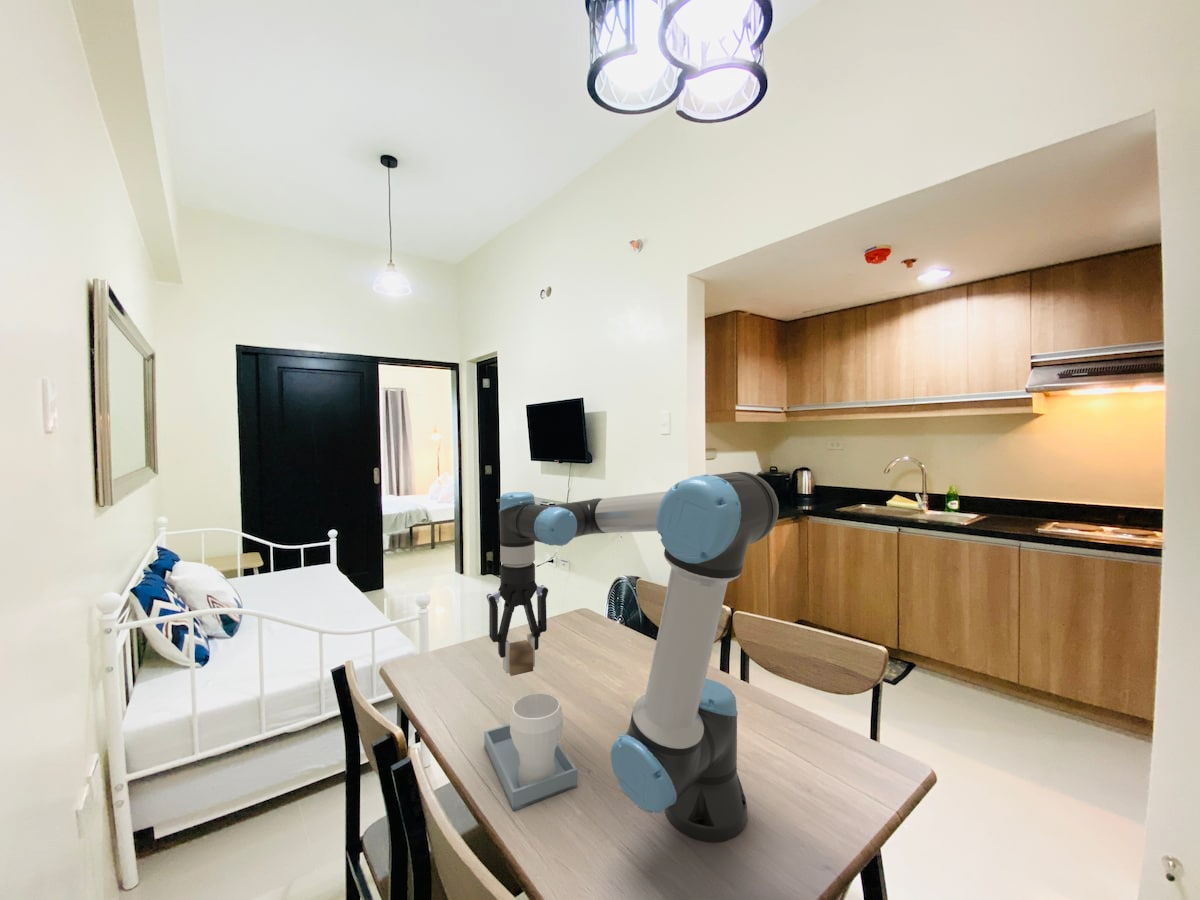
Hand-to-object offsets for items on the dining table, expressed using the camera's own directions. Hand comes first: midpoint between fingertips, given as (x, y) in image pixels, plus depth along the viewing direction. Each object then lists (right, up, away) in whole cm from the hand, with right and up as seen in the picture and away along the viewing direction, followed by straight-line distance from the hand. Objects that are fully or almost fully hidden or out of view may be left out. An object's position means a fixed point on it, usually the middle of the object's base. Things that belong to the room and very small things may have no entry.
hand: (518, 667), depth 106 cm
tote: (+3, -19, -4) cm, 19 cm away
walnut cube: (0, 0, 0) cm, 0 cm away
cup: (+5, -18, -9) cm, 21 cm away
